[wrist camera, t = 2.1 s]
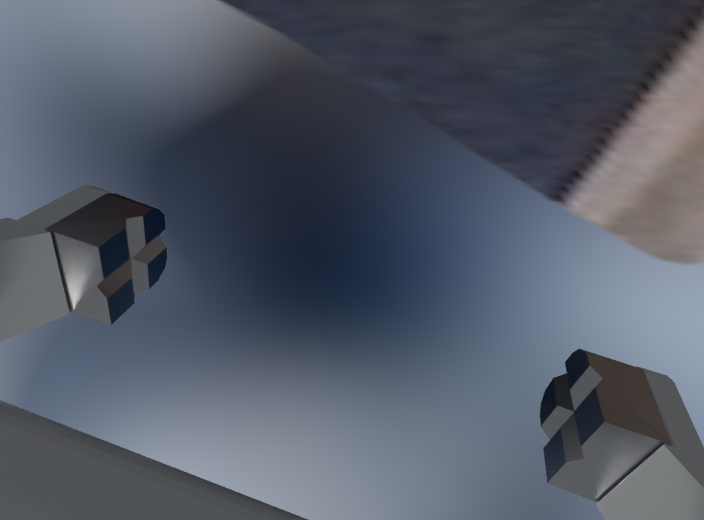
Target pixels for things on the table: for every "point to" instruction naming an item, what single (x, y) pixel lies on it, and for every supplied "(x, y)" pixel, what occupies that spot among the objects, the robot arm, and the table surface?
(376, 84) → the table surface
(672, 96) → the table surface
